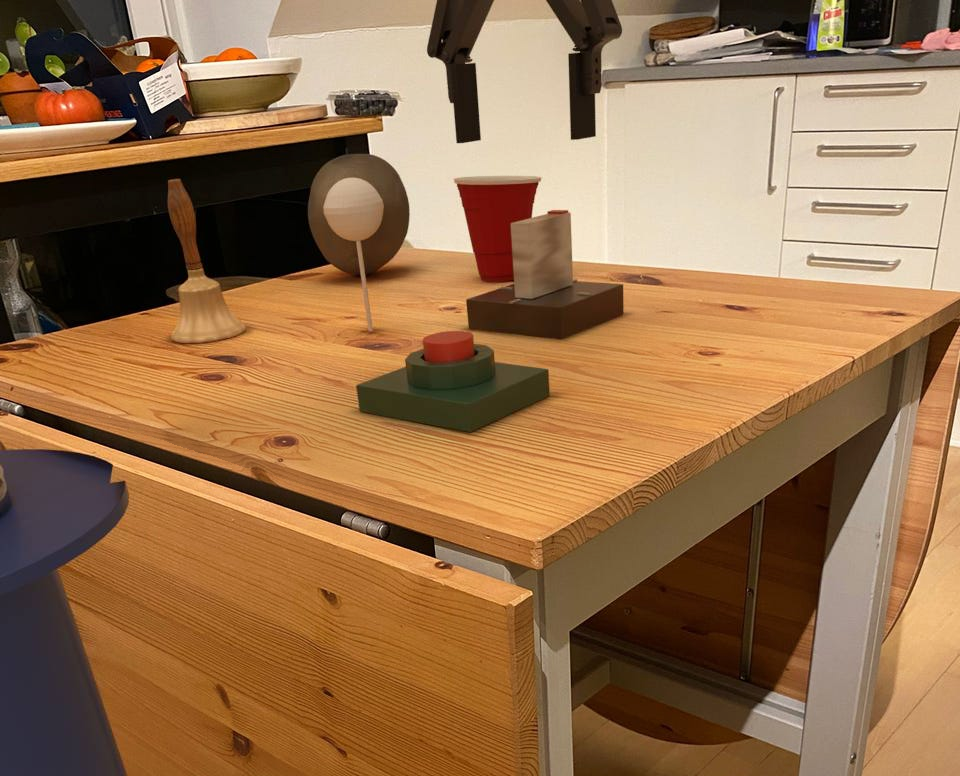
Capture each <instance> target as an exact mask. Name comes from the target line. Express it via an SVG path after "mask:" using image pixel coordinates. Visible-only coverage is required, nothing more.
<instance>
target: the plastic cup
mask: <svg viewBox="0 0 960 776" xmlns="http://www.w3.org/2000/svg"><path fill="white" fill-rule="evenodd" d="M542 178H543V177H542V176H535V175H478V176H477V175H476V176H462V177H455V178H453V182H454V184H456V187H457V190H458V193H459V198H460V200H461V201H460V202H461V206H462V208H463V211H464V217H465V221H466V226H467V230H468V231H467V232H468V235H469V240H470V243H471V248H472V252H473V254H474V258H475V261H476V262H475V263H476V266H477V272H478V275H479V278H480V280H481V281H482V282H491V283H493V282H494V283H495V282H496V283H497V282H498V283H499V282H509V281H514V270H513V254H512V238H511V223H514V222H518V221H522V220H525V219H529V218H533V209H534V204H535V198H536V195H537V190H538V186H539V183H540V182H542Z"/></svg>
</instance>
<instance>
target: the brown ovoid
mask: <svg viewBox="0 0 960 776" xmlns="http://www.w3.org/2000/svg"><path fill="white" fill-rule="evenodd" d="M345 178H359V179H362V180H364V181H367V182H368V183H369V184H371V185H372V186H373V187H374V188H375V189H376V191H377V192H378V194H379V195H380V197H381V199H382V200H383V205H384V209H383V216H382V221H381V224H380V226H379V227H378V229H377V231H376V232H375V233H374V234H373V235H371V236H370V237H369V238H366V239H364V240H361V248H362V255H363V263H364V270H365V276H366V275H370V274H373V273H375V272H377V271H378V270H380V269H381V268H383V267H384V266H385V265H387V264H388V263H389V262H391V261H392V260H393V259H394V258H395V257H396V256H397V254H398V252H399V251H400V249H401V248H402V246H403V244H404V242H405V240H406V237H407V236H408V235H407V234H408V231H409V225H410V218H411V217H410V213H411V212H410V201H409V196H408V194H407V189H406V187H405V185H404V183H403V180H402V178H401V175H399V173H398V171H397V170H396V169H395V168H394V166H393V165H391V164H390V163H389V162H388V161H386V160H385V159H384V158H382V157H380V156H377V155H374V154H370V153H350V154H342V155H339V156H337V157H336V158H333V159H331V160H329V161H327V162H326V163H325V164H324V165H322V167H320V169H319V170H318V172H316V174H315V177H314V178H313V180H312V183H311V186H310V192H309V197H308V203H307V219H308V224H309V229H310V232H311V235H312V237H313V240H314V241H315V244H316V246H317V247H318V249H319V251H320V252H321V254H322V256H323V257H324V259H325V260H326V261H327V262H328V263H330V264H331V265H332V266H333V267H334V268H336V269H337V270H338V271H340V272H342V273H344V274H348V275H351V276H361V273H360V266H359V259H358V252H357V244H356V241H351V240H346V239H344V238H342V237H340V236H339V235H337V234H336V233H335V232H334V231H333V230H332V228H331V227H330V225H329V224H328V221H327V219H326V217H325V215H324V203H325V200H326V197H327V194H328V192H329V190H330V189H331V188H332V187H333V185H334V184H336V183H337V182H338V181H340V180H343V179H345Z"/></svg>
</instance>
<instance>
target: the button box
mask: <svg viewBox="0 0 960 776" xmlns="http://www.w3.org/2000/svg"><path fill="white" fill-rule="evenodd" d="M474 352H475V356H474V357H471V358H469V359H465V360H460V361H454V362H438V363H435V362H428V361H425V358H424V349H423V348H421V349H418V350H416V351H413V352H410V353H409V354H408V355H407V356H406V357H405V358H404V362H405V366H403V367H401V368H398V369H396V370H393V371H390V372H387V373H385V374H381V375H380V376H376V377H374V378H371V379H369V380H366V381H363V382H360V383H358V384H356V385H355V388H356V396H357V401H358V403H357V404H358V407H359V409H358V410H359V412H362V413H367V414H373V415H377V416H383V417H387V418H393V419H399V420H403V421H409V422H414V423H419V424H425V425H430V426H435V427H440V428H446V429H449V430H450V429H452V430H456V431H461V432H466V433H472V432H475V431H477V430H479V429H481V428H483V427H485V426H487V425H489V424H492V423H494V422H496V421H498V420H500V419H503V418H504V417H505V418H506V417H507V416H509V415H511V414H513V413H516V412H517V411H520V410H522V409H524V408H526V407H528V406H531V405H533V404H535V403H537V402H540V401H541V400H543V399H546V398H549V397H550V396H551V395H550V394H551V392H550V375H549V374H550V373H549V369H548V368H543V367H535V366H527V365H521V364H513V363H505V362H497V361H496V360H495V350H494V349H493V348H491V347H490V346H488V345H486V344H480V343H474Z"/></svg>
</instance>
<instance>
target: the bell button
mask: <svg viewBox="0 0 960 776" xmlns="http://www.w3.org/2000/svg"><path fill="white" fill-rule="evenodd" d="M474 344H475V342H474V334H473V333H472V332H470V331H464V330H447V331H440V332H435V333H431V334H428V335H426V336H424V337H423V338H422V347H423V348H422V349H424V358H425V361H428V362H435V363H438V362H454V361H460V360H465V359H469V358H471V357H474V356H475V352H474Z"/></svg>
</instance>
